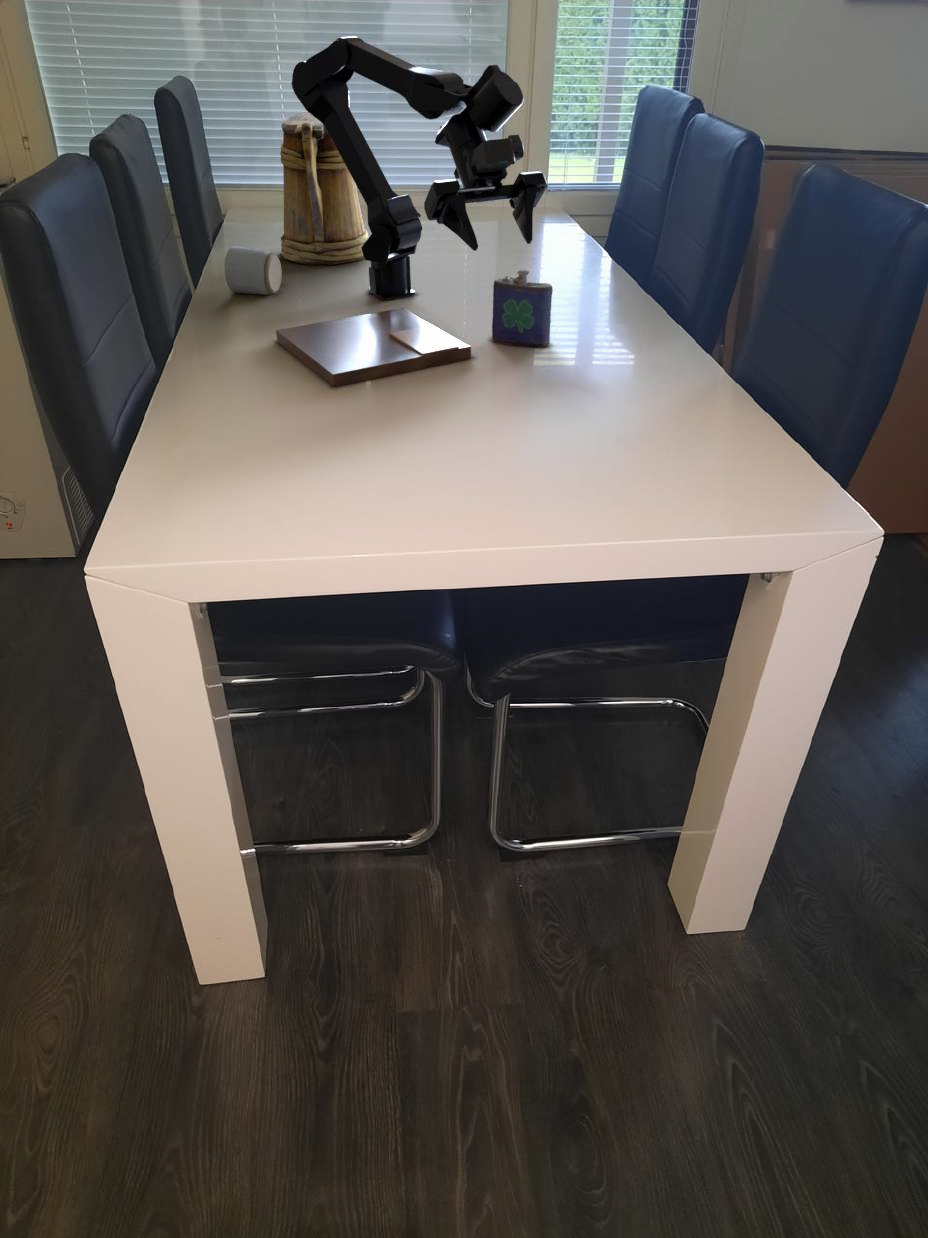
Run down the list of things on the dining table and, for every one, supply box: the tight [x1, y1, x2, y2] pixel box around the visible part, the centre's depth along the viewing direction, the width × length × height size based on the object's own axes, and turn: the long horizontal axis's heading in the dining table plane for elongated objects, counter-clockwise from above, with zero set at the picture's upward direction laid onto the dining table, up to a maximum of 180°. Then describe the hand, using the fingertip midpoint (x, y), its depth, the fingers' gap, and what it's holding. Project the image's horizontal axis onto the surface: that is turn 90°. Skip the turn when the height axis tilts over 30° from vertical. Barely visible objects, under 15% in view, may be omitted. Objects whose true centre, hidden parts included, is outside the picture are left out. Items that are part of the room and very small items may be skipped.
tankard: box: [280, 112, 370, 266], centre depth 167 cm, size 18×24×25 cm
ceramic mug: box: [224, 245, 283, 296], centre depth 153 cm, size 11×8×8 cm
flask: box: [491, 269, 554, 348], centre depth 129 cm, size 9×3×11 cm, turn 68°
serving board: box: [275, 307, 472, 388], centre depth 129 cm, size 22×22×2 cm
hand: (503, 245), depth 129 cm, fingers open, 9 cm apart
